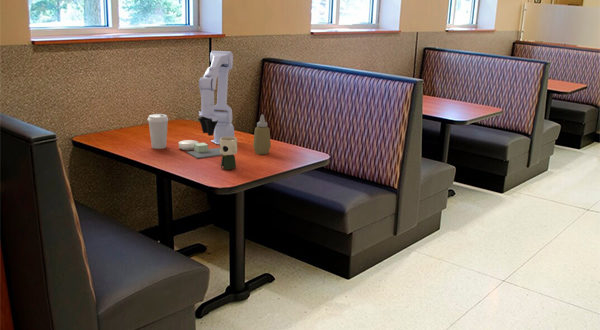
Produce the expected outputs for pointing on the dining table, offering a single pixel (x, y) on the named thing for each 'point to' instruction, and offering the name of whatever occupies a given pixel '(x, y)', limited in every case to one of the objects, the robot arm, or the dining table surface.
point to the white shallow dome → (187, 144)
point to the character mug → (228, 152)
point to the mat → (206, 153)
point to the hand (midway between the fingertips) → (208, 134)
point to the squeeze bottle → (262, 137)
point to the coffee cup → (158, 130)
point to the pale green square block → (201, 147)
